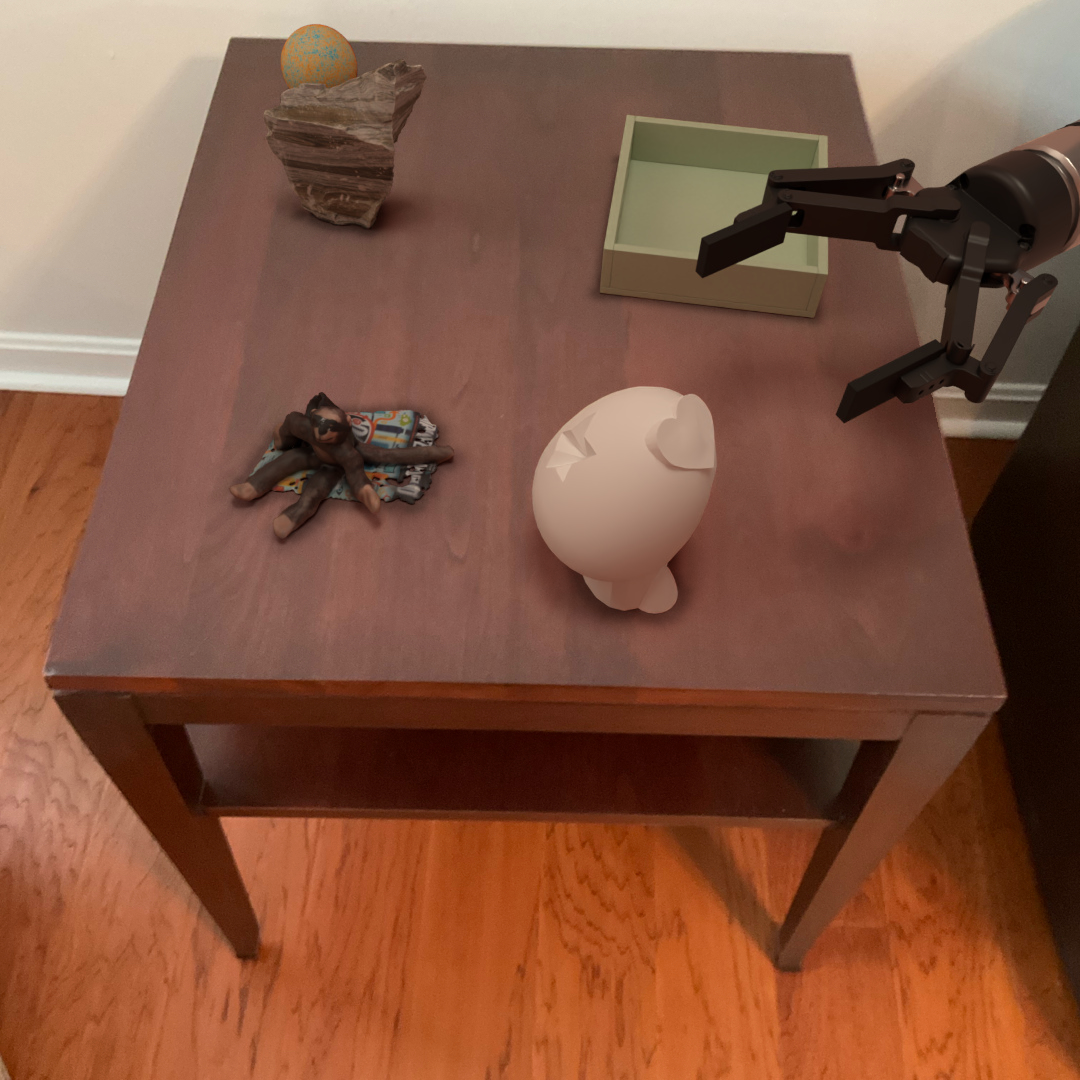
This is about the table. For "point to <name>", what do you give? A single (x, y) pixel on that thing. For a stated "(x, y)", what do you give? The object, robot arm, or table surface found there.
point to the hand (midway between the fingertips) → (769, 327)
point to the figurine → (627, 492)
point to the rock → (344, 140)
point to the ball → (317, 57)
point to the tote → (707, 216)
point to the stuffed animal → (344, 459)
